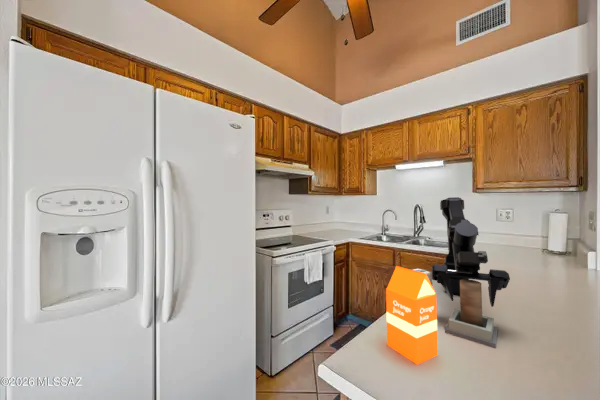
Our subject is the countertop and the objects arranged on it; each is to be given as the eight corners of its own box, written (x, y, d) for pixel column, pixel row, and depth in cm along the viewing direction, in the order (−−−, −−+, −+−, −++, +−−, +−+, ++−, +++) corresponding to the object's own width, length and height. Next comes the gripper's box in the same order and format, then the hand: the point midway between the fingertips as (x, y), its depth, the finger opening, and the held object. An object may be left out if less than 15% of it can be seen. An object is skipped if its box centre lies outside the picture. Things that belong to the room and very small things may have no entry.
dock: (445, 332, 67) (444, 320, 67) (452, 318, 75) (452, 307, 75) (495, 348, 59) (495, 334, 59) (497, 330, 68) (497, 318, 68)
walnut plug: (456, 325, 69) (455, 280, 69) (468, 322, 70) (467, 278, 71) (474, 334, 64) (473, 285, 64) (486, 330, 66) (485, 283, 66)
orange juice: (417, 365, 53) (415, 276, 54) (386, 344, 61) (385, 267, 62) (438, 354, 57) (436, 271, 57) (406, 336, 65) (405, 263, 65)
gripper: (431, 238, 75) (434, 284, 65) (506, 242, 67) (523, 295, 57) (430, 258, 82) (433, 302, 72) (499, 264, 74) (512, 314, 64)
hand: (471, 303), depth 66 cm, fingers open, 9 cm apart
